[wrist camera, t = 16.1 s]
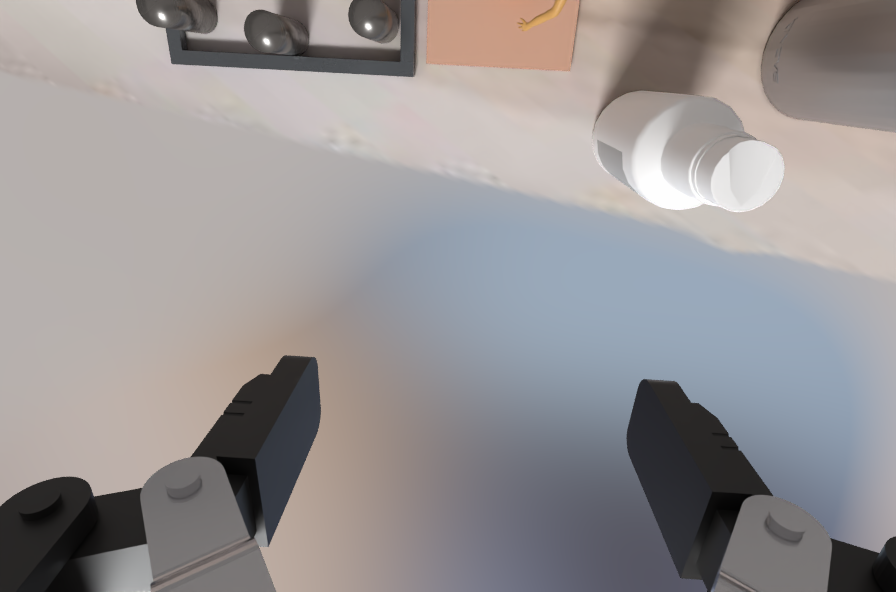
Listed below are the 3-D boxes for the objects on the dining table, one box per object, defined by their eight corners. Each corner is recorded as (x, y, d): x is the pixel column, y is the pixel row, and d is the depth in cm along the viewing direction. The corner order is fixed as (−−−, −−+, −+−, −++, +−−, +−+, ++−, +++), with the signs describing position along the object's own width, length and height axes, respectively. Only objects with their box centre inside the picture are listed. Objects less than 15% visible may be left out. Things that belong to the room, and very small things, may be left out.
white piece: (587, 178, 41) (663, 246, 25) (595, 91, 38) (687, 102, 22) (669, 177, 41) (801, 245, 25) (683, 89, 38) (843, 99, 22)
